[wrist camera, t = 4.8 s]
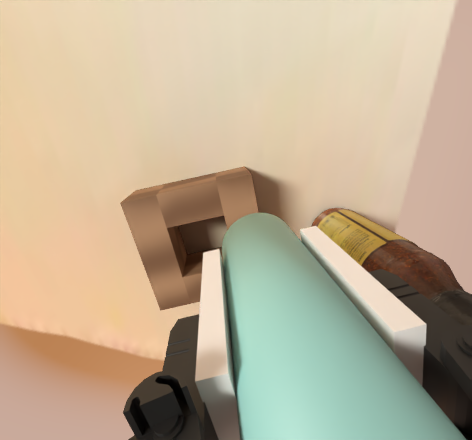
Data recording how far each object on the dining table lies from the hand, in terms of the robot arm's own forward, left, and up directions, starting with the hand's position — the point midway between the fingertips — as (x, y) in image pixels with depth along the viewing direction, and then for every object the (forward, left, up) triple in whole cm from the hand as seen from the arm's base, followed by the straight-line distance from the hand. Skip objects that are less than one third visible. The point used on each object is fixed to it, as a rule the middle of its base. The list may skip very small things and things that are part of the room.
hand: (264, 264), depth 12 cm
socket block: (+4, -4, -17) cm, 18 cm away
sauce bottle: (+8, +11, -18) cm, 22 cm away
